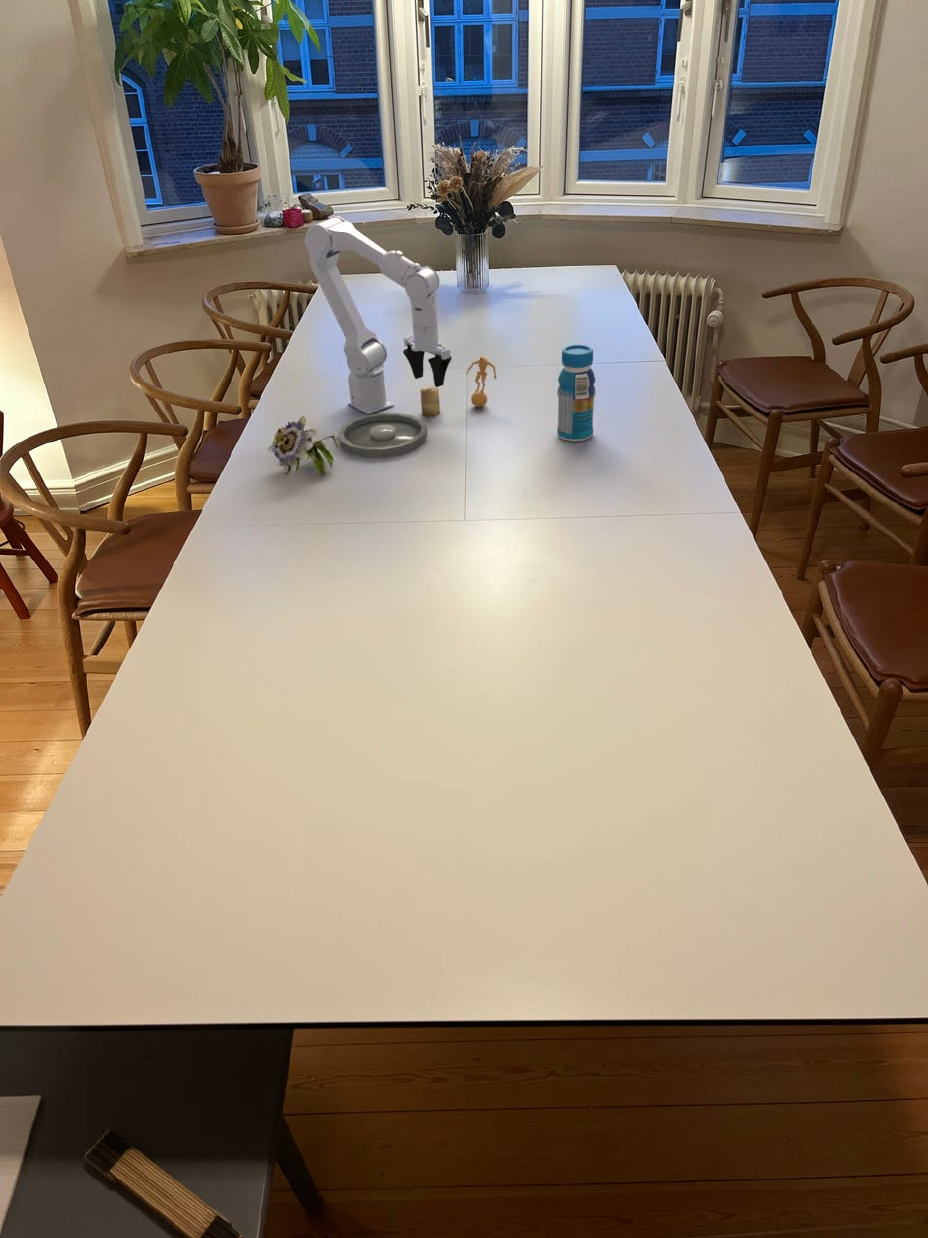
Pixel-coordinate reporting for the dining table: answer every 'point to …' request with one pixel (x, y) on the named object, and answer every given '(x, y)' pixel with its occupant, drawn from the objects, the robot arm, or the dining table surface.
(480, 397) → the figurine
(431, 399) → the oak bead
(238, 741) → the dining table surface
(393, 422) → the round tray
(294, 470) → the passion flower
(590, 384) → the beverage bottle
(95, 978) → the dining table surface
